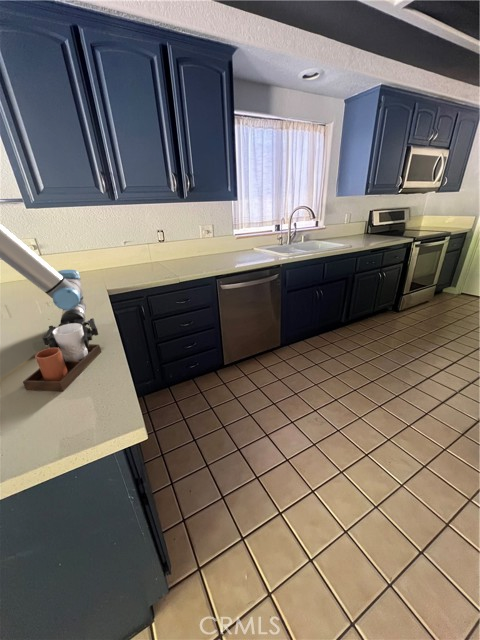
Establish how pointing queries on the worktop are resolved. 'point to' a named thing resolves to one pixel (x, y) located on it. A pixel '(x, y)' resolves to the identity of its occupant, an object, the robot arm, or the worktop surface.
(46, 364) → the terracotta cup
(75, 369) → the tray
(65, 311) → the robot arm
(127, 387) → the worktop surface
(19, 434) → the worktop surface
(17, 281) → the worktop surface
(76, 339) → the white cup
